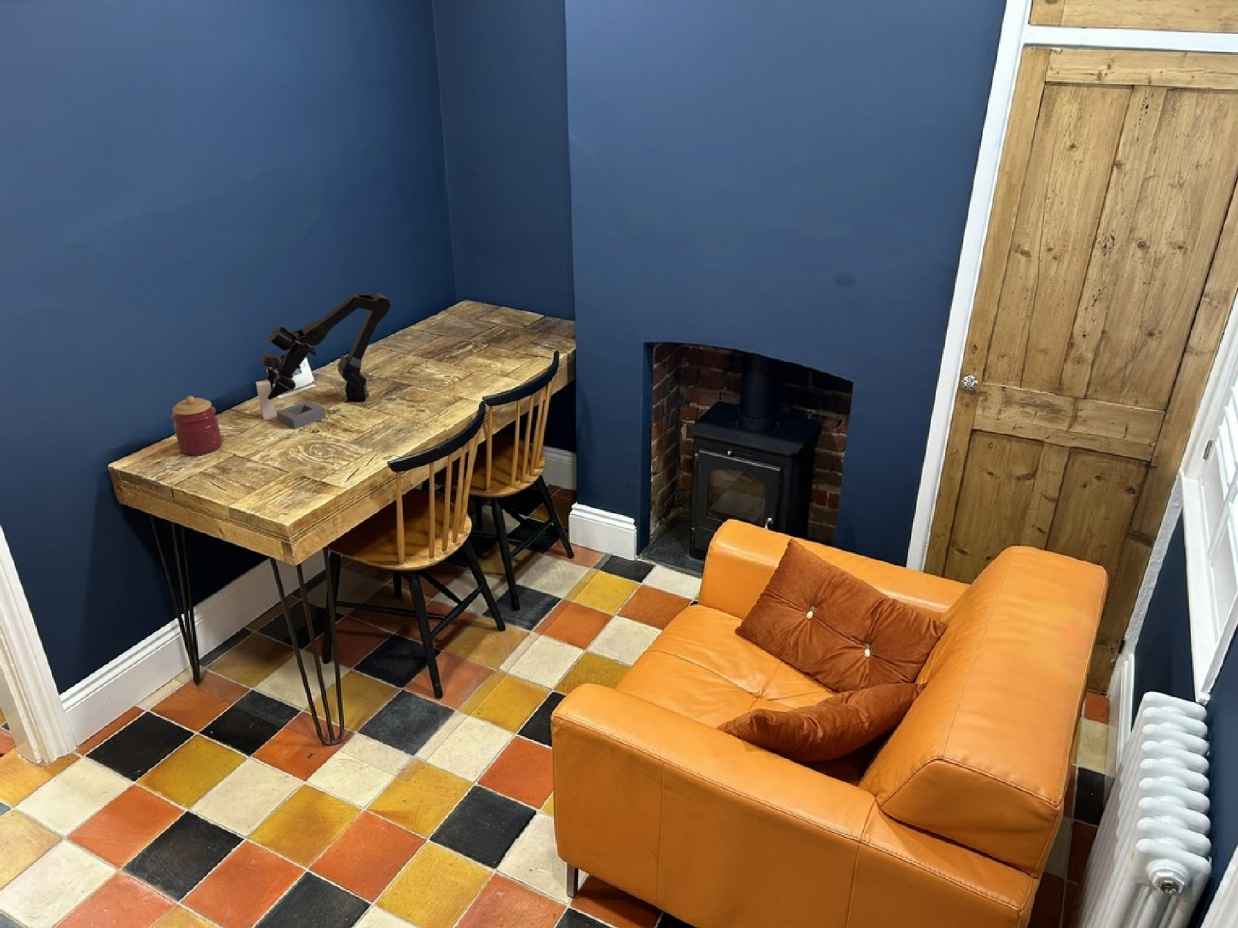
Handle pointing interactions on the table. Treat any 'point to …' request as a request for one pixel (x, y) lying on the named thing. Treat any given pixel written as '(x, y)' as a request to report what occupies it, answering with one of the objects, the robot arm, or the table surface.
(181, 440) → the canister
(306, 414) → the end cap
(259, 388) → the light grey peg
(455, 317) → the table surface
